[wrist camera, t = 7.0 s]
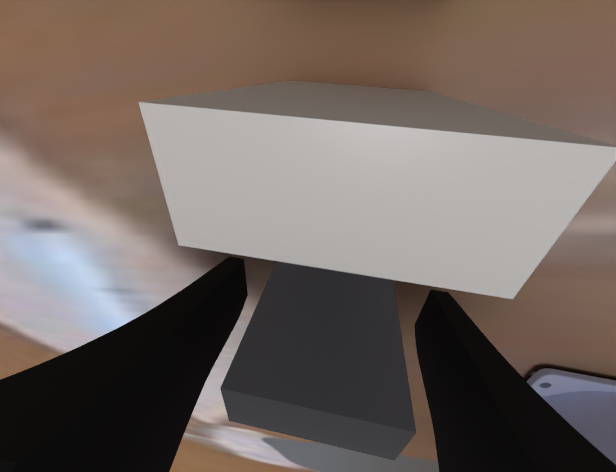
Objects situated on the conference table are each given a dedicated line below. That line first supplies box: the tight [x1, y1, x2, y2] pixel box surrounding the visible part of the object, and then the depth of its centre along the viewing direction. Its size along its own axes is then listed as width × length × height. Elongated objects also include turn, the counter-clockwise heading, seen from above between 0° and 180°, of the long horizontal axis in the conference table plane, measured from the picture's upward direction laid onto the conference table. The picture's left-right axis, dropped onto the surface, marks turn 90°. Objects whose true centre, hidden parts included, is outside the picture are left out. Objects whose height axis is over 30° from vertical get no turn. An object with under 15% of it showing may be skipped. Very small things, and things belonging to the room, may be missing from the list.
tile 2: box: [139, 80, 616, 299], centre depth 6 cm, size 2×4×7 cm, turn 87°
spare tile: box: [221, 261, 416, 460], centre depth 9 cm, size 2×4×7 cm, turn 87°
